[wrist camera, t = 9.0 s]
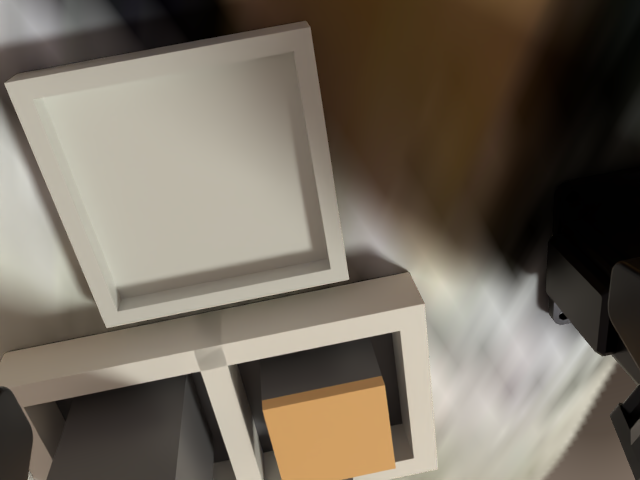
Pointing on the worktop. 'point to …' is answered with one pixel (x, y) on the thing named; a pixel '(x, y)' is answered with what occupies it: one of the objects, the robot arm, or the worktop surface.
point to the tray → (189, 171)
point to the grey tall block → (136, 435)
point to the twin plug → (327, 412)
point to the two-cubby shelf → (241, 370)
